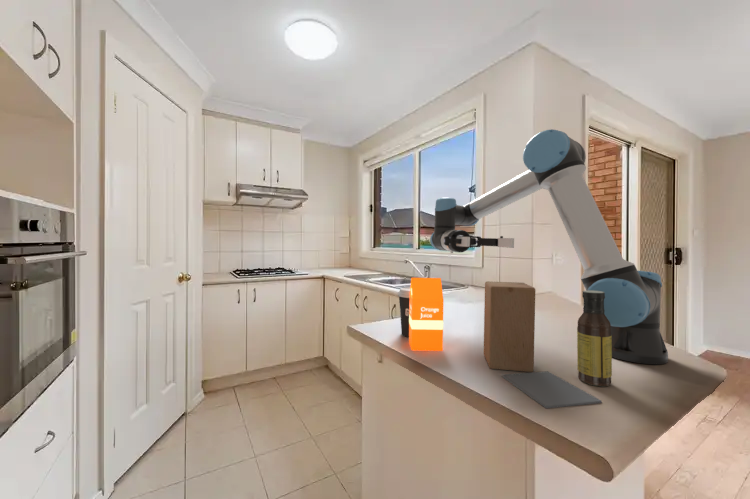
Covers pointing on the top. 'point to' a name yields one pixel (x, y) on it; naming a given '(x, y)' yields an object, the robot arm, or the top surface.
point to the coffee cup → (404, 310)
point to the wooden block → (509, 326)
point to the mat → (550, 389)
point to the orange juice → (426, 314)
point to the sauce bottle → (594, 341)
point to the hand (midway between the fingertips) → (491, 242)
